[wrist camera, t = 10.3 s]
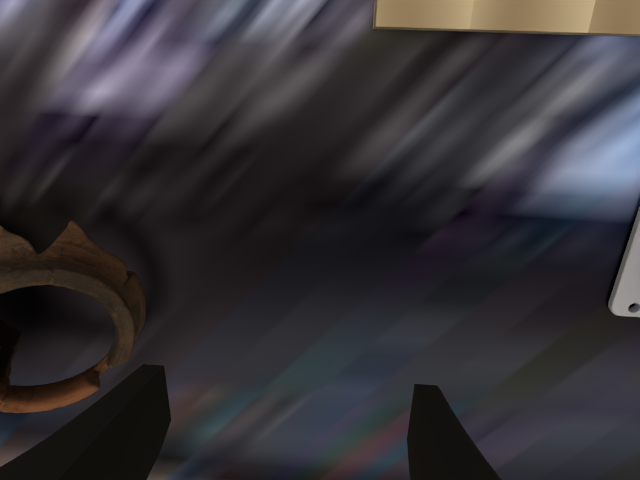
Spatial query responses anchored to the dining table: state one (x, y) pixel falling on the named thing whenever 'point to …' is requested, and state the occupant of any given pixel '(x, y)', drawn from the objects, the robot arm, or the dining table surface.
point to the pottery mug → (78, 274)
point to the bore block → (512, 16)
